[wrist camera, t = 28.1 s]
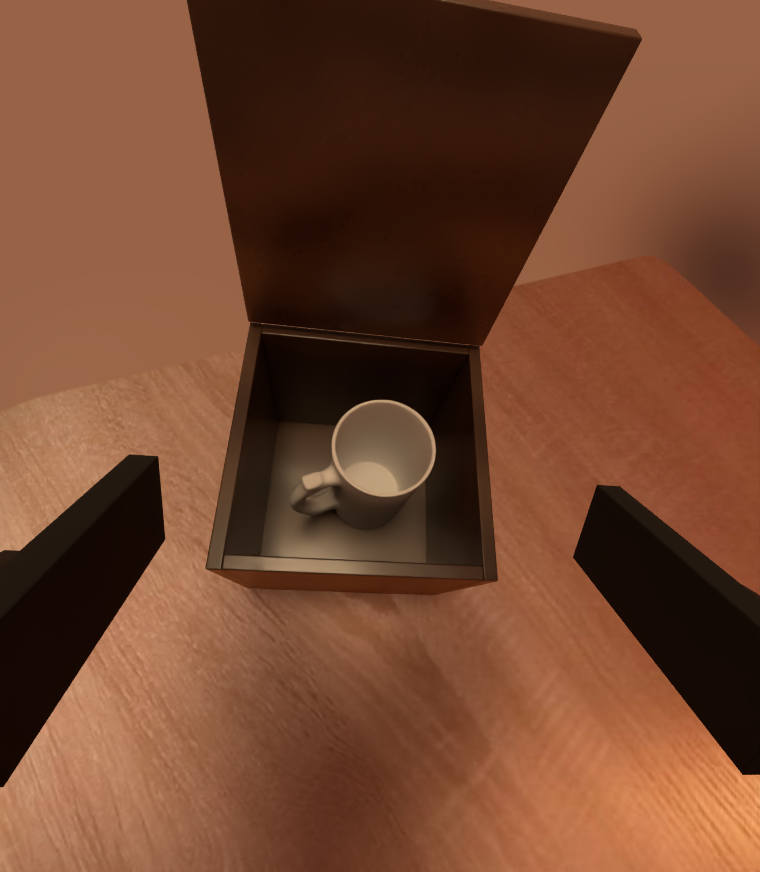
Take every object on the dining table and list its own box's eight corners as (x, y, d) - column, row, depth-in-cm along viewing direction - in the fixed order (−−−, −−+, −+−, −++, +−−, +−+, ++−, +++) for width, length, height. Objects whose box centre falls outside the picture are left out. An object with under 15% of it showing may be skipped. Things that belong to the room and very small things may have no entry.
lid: (643, 38, 15) (637, 28, 15) (176, -53, 13) (181, -61, 14) (482, 346, 29) (481, 337, 30) (248, 322, 27) (250, 312, 28)
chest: (434, 595, 37) (498, 581, 24) (247, 588, 35) (205, 569, 22) (430, 429, 43) (479, 345, 30) (271, 416, 41) (250, 321, 28)
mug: (384, 449, 40) (408, 386, 29) (415, 514, 38) (454, 472, 27) (281, 489, 38) (266, 435, 27) (309, 561, 36) (304, 535, 25)
